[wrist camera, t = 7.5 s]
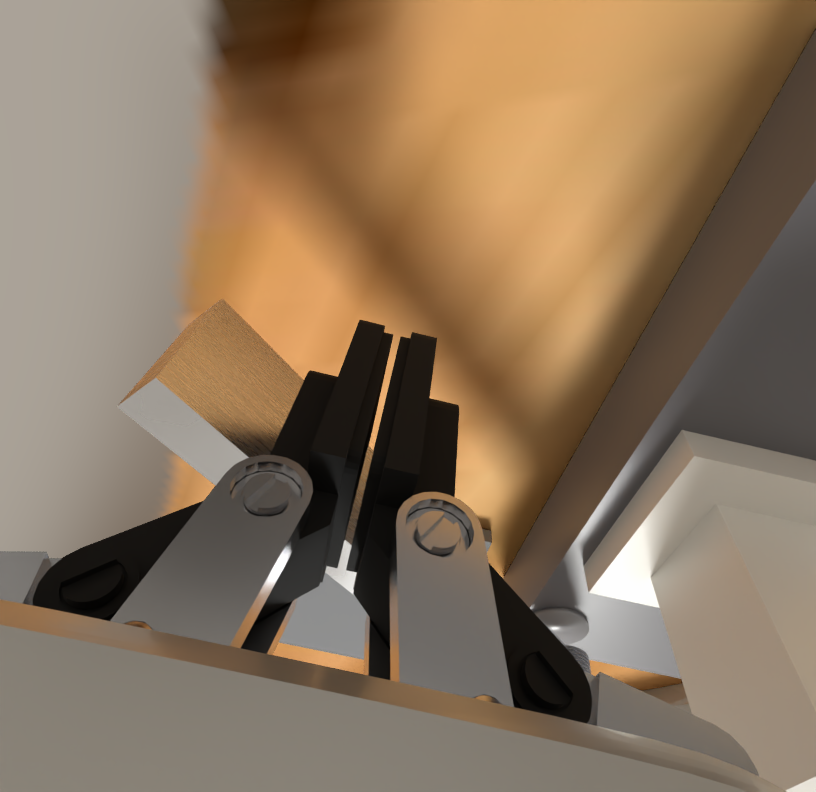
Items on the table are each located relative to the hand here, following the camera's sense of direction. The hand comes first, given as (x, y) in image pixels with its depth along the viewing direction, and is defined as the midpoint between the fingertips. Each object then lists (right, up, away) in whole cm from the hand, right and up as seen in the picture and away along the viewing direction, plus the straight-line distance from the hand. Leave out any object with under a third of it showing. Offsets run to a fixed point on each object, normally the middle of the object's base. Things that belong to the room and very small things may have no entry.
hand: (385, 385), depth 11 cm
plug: (+11, -2, +7) cm, 13 cm away
